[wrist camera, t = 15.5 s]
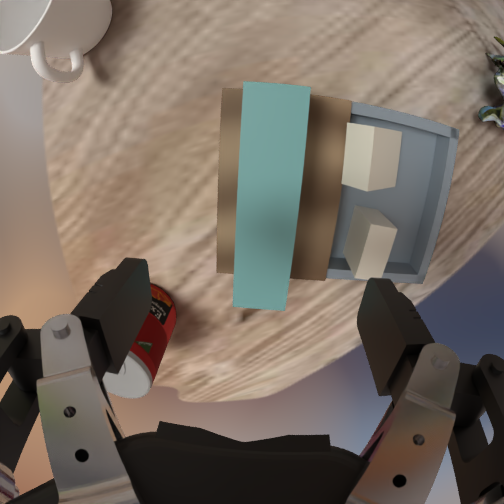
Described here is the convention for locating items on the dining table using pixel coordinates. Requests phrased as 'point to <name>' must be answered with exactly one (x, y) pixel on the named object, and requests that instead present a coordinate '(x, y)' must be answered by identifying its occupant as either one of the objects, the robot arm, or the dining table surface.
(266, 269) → the teal rectangular block
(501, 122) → the passion flower
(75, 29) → the cup
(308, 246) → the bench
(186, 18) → the dining table surface
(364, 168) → the tile
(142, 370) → the canned food
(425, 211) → the tray
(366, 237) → the tile
